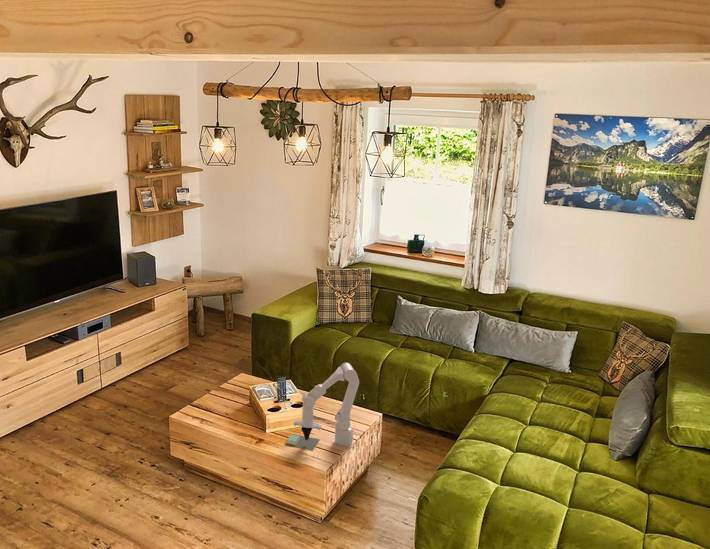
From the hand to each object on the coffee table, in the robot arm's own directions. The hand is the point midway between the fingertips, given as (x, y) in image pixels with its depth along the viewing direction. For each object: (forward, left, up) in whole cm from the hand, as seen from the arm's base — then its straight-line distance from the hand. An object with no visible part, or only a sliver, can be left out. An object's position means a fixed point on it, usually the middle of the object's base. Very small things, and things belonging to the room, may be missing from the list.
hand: (306, 439), depth 328 cm
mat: (+3, -1, -3) cm, 5 cm away
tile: (+5, 0, -2) cm, 5 cm away
